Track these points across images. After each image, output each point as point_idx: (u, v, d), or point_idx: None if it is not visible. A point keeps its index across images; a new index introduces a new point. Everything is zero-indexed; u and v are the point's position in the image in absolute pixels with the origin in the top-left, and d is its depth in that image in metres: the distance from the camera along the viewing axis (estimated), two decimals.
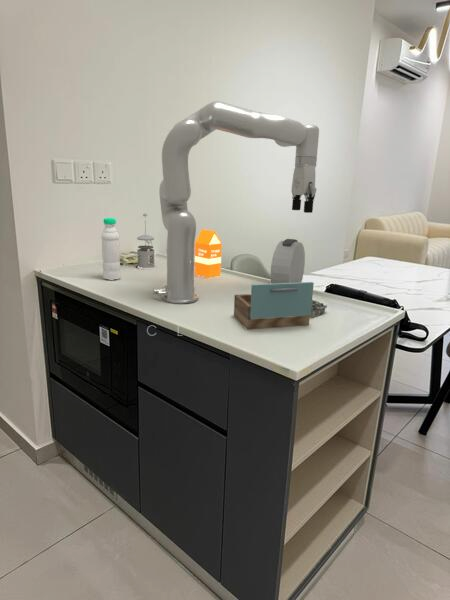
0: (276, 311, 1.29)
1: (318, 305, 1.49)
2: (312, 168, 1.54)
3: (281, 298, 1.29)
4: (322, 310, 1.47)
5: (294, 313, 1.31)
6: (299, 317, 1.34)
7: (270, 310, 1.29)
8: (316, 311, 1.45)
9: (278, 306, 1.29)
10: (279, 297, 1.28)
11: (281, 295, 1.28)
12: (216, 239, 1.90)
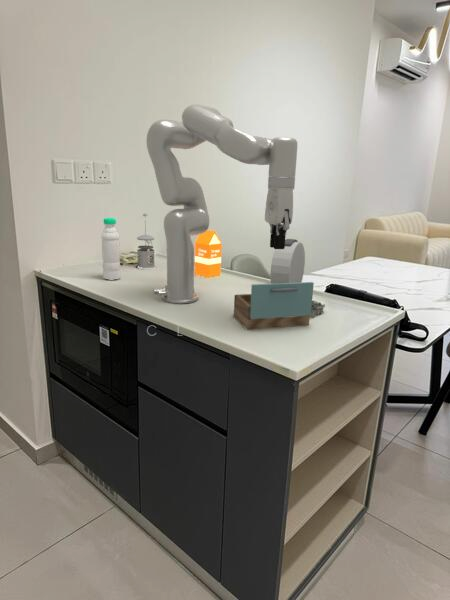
0: (276, 311, 1.29)
1: (316, 305, 1.50)
2: (289, 191, 1.23)
3: (281, 298, 1.29)
4: (320, 309, 1.48)
5: (294, 313, 1.31)
6: (299, 317, 1.34)
7: (270, 310, 1.29)
8: (315, 311, 1.45)
9: (278, 306, 1.29)
10: (279, 297, 1.28)
11: (281, 295, 1.28)
12: (216, 239, 1.90)
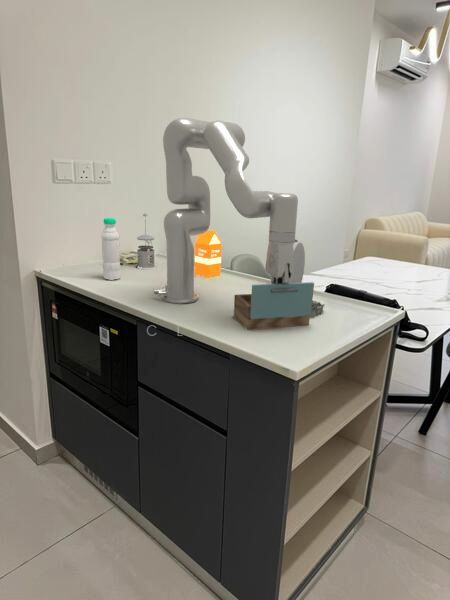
0: (276, 311, 1.29)
1: (315, 304, 1.50)
2: (289, 246, 1.24)
3: (281, 298, 1.29)
4: (320, 309, 1.48)
5: (294, 313, 1.31)
6: (299, 317, 1.34)
7: (270, 310, 1.29)
8: (315, 310, 1.45)
9: (278, 306, 1.29)
10: (279, 298, 1.28)
11: (281, 295, 1.28)
12: (216, 239, 1.90)
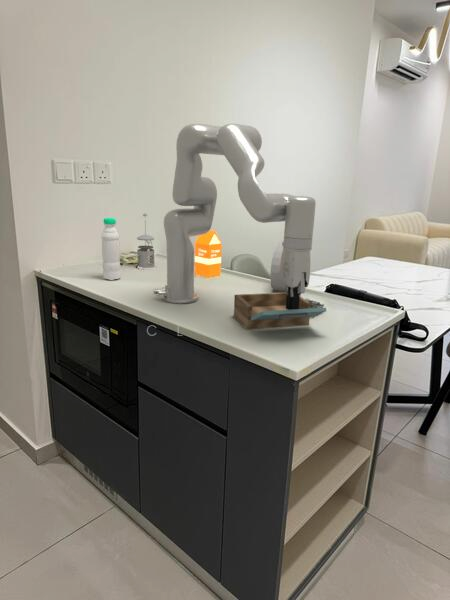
0: (278, 318, 1.28)
1: (315, 304, 1.50)
2: (306, 254, 1.15)
3: None
4: None
5: (295, 317, 1.31)
6: (299, 317, 1.34)
7: (272, 318, 1.28)
8: None
9: None
10: None
11: None
12: (216, 239, 1.90)
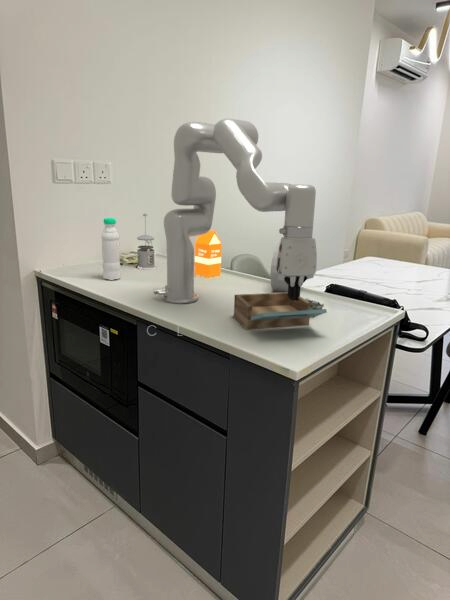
0: (278, 318, 1.28)
1: (315, 304, 1.50)
2: None
3: None
4: None
5: None
6: None
7: (272, 318, 1.28)
8: None
9: None
10: None
11: None
12: (216, 239, 1.90)
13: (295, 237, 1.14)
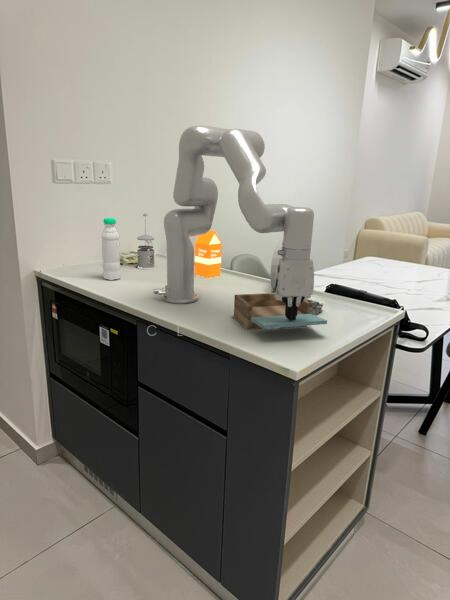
0: None
1: (314, 304, 1.51)
2: None
3: None
4: (319, 309, 1.48)
5: None
6: None
7: None
8: (315, 310, 1.46)
9: None
10: None
11: None
12: (216, 239, 1.90)
13: (293, 259, 1.16)
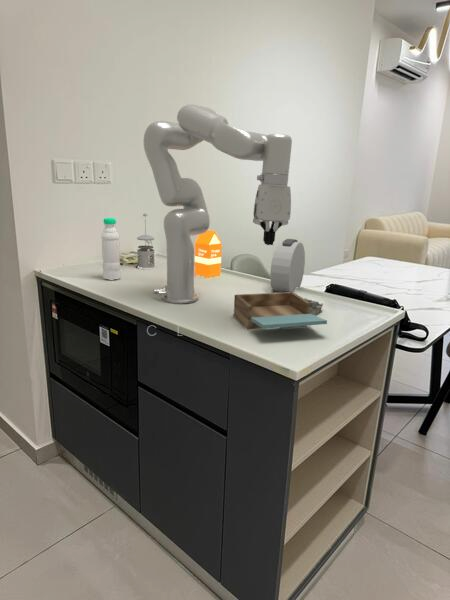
0: None
1: (314, 304, 1.51)
2: None
3: None
4: (319, 309, 1.49)
5: None
6: None
7: None
8: (315, 310, 1.46)
9: None
10: None
11: None
12: (216, 239, 1.90)
13: (271, 183, 1.23)
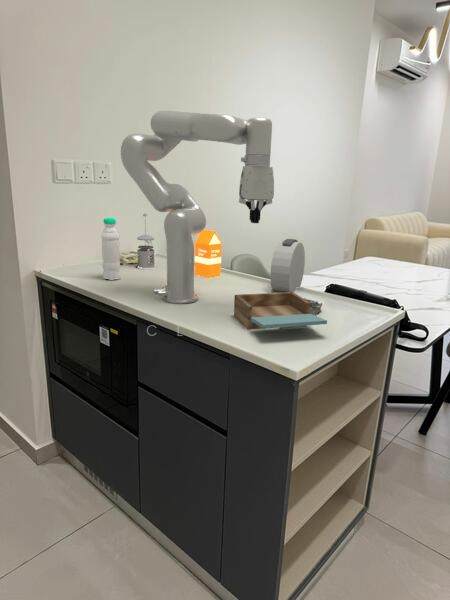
0: None
1: (313, 304, 1.51)
2: None
3: None
4: (318, 308, 1.49)
5: None
6: None
7: None
8: (315, 310, 1.46)
9: None
10: None
11: None
12: (216, 239, 1.90)
13: (254, 164, 1.31)
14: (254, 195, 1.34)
